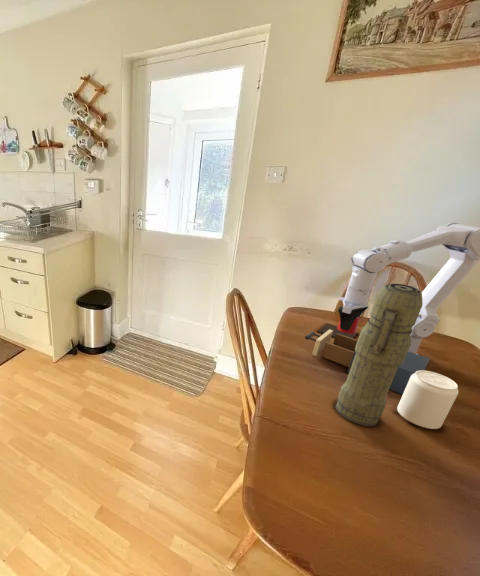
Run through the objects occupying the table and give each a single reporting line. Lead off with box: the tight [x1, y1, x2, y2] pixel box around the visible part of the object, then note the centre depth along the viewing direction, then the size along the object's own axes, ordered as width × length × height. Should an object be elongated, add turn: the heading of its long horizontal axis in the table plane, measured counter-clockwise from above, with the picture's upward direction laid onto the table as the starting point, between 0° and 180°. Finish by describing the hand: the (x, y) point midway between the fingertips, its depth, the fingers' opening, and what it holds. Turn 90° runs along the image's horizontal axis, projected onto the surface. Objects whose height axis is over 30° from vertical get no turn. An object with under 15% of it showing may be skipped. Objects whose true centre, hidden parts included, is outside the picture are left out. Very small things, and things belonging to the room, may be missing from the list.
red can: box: [337, 315, 361, 334], centre depth 102 cm, size 5×5×6 cm
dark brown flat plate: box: [317, 323, 359, 339], centre depth 119 cm, size 10×10×1 cm
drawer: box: [304, 329, 358, 368], centre depth 103 cm, size 18×11×6 cm, turn 37°
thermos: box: [335, 283, 423, 427], centre depth 74 cm, size 9×12×35 cm
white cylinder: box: [396, 370, 459, 430], centre depth 77 cm, size 8×8×12 cm
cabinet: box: [347, 351, 431, 395], centre depth 93 cm, size 15×13×8 cm
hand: (347, 327), depth 102 cm, fingers closed on red can, 5 cm apart
